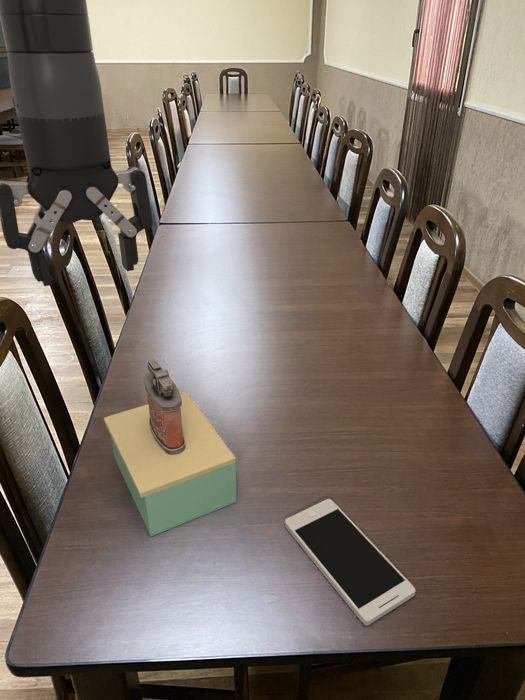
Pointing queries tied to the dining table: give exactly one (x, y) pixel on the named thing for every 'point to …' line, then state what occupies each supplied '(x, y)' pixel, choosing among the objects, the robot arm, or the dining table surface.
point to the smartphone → (350, 561)
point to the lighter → (164, 409)
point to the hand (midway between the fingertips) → (89, 275)
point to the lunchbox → (182, 497)
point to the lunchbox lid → (152, 462)
